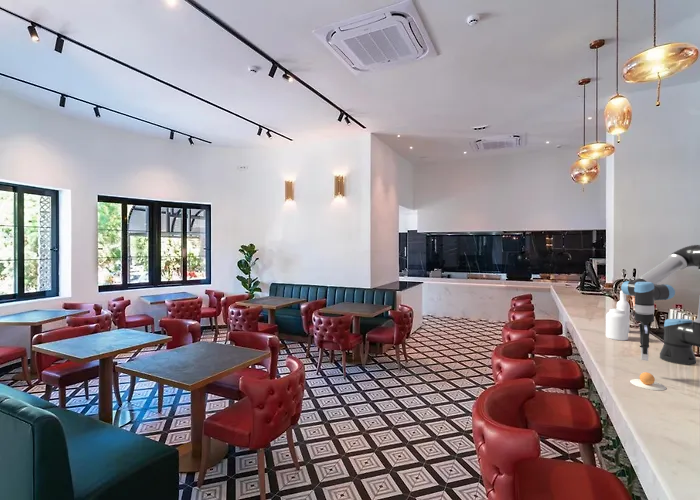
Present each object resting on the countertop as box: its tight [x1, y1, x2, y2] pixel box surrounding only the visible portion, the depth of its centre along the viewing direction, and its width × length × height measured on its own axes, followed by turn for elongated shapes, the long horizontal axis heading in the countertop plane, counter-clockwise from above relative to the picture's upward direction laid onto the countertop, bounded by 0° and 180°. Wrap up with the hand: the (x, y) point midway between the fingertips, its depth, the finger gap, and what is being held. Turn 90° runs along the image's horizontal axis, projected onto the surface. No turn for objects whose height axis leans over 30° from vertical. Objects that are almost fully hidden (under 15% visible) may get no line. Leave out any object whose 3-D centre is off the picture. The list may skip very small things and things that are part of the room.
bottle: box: [615, 290, 631, 334], centre depth 265 cm, size 8×8×30 cm
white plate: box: [629, 378, 667, 391], centre depth 169 cm, size 13×13×1 cm
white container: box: [605, 308, 629, 341], centre depth 248 cm, size 12×12×20 cm
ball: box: [639, 371, 656, 385], centre depth 169 cm, size 6×6×6 cm
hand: (644, 359), depth 181 cm, fingers closed
